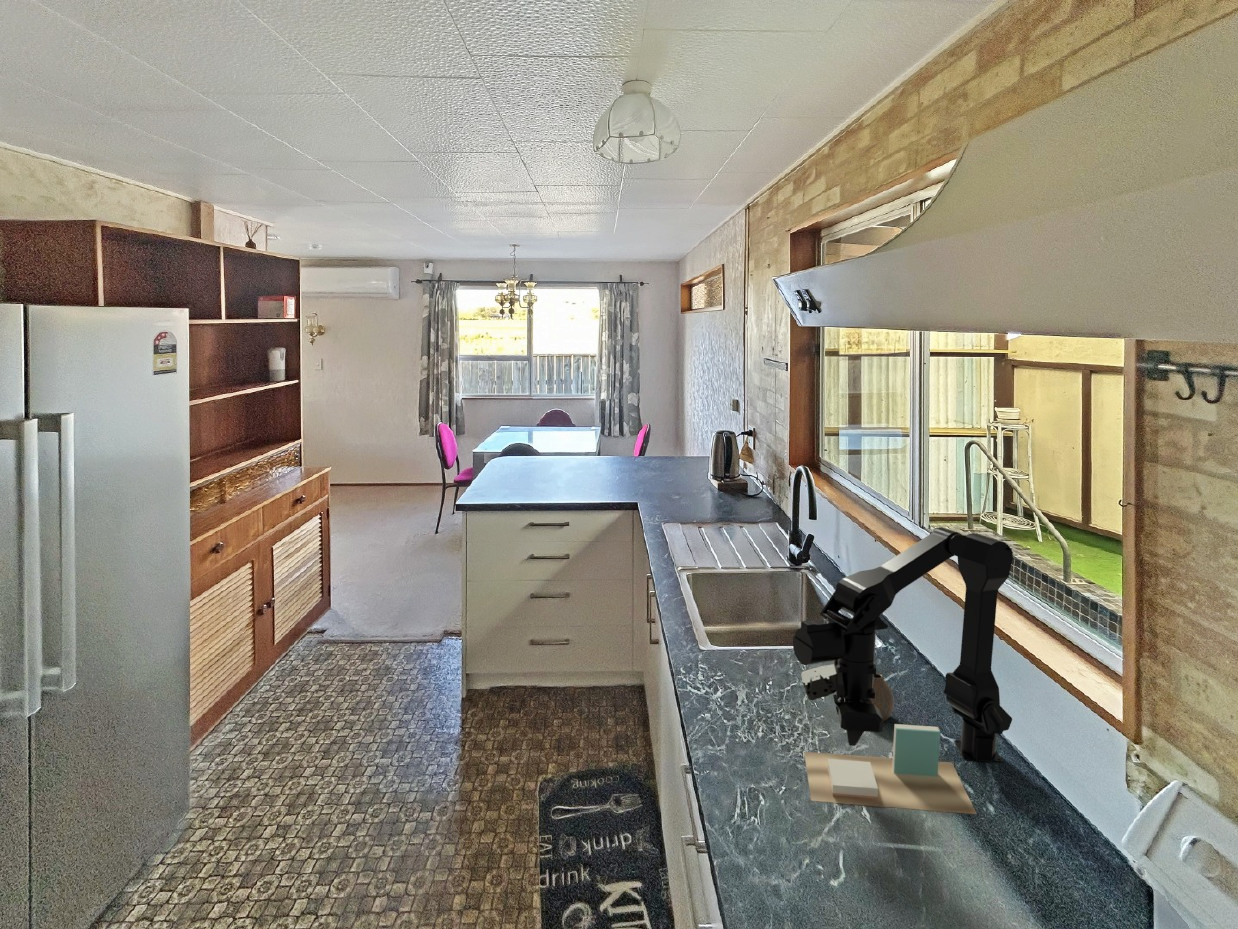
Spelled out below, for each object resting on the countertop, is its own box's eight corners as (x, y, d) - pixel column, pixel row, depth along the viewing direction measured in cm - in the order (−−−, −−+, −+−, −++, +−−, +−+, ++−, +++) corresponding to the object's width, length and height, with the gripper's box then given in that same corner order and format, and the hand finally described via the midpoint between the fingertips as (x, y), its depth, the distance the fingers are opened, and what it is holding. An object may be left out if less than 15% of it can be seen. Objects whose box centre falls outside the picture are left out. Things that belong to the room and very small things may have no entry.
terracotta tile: (827, 759, 135) (832, 785, 127) (870, 762, 134) (878, 788, 126) (827, 768, 136) (832, 795, 128) (869, 771, 134) (877, 799, 127)
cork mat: (804, 754, 141) (804, 751, 141) (951, 764, 137) (951, 762, 137) (811, 803, 126) (811, 800, 126) (976, 816, 123) (976, 814, 123)
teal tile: (892, 767, 136) (894, 724, 134) (934, 770, 135) (937, 727, 133) (894, 773, 134) (896, 729, 133) (937, 776, 133) (940, 732, 132)
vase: (868, 729, 150) (870, 685, 148) (848, 712, 156) (850, 670, 155) (900, 724, 151) (902, 681, 150) (880, 708, 158) (882, 666, 157)
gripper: (801, 631, 139) (798, 714, 142) (809, 677, 121) (806, 771, 124) (867, 635, 137) (862, 719, 140) (885, 681, 119) (880, 777, 122)
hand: (851, 744), depth 131 cm, fingers closed
